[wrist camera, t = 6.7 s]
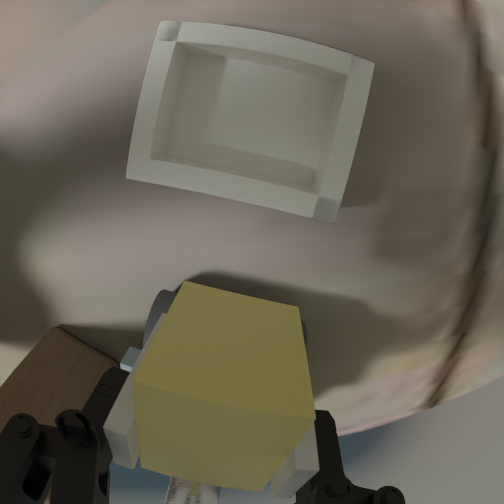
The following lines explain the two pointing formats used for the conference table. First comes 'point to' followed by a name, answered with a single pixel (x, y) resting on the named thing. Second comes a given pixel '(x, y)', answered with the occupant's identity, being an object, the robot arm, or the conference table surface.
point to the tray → (249, 117)
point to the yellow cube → (223, 389)
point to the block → (52, 380)
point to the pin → (191, 492)
